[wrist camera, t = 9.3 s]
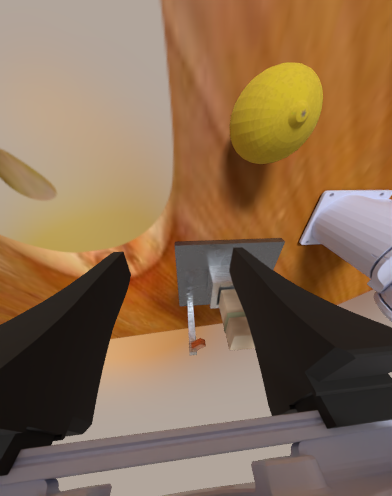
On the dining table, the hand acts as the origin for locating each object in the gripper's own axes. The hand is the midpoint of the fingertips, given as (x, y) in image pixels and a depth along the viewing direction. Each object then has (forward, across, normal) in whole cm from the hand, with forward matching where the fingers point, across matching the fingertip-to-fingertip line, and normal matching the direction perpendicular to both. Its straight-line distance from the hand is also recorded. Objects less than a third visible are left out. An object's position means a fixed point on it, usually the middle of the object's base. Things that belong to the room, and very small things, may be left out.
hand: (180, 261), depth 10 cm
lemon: (+11, -7, -8) cm, 15 cm away
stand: (+10, -7, +12) cm, 17 cm away
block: (+6, -7, +12) cm, 15 cm away
